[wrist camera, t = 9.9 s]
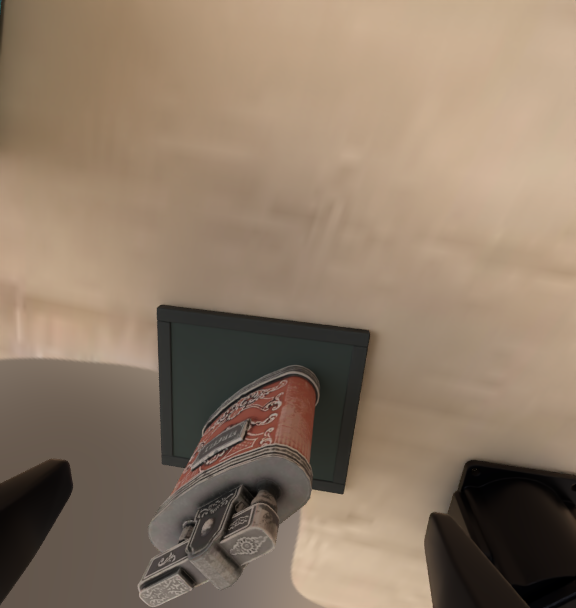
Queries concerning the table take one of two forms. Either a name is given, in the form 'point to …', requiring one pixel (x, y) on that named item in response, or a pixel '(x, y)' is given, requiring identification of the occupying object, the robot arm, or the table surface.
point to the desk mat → (256, 378)
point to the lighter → (235, 487)
